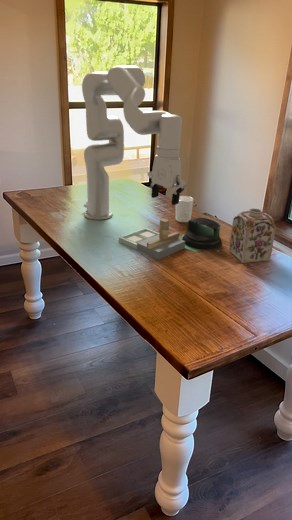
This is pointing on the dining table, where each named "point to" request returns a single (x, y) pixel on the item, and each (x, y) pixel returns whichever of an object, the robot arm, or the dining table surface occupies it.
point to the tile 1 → (135, 239)
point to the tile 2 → (146, 235)
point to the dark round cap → (202, 235)
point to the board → (160, 247)
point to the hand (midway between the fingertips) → (164, 200)
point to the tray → (129, 243)
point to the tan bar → (163, 235)
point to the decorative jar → (252, 236)
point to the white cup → (184, 209)
